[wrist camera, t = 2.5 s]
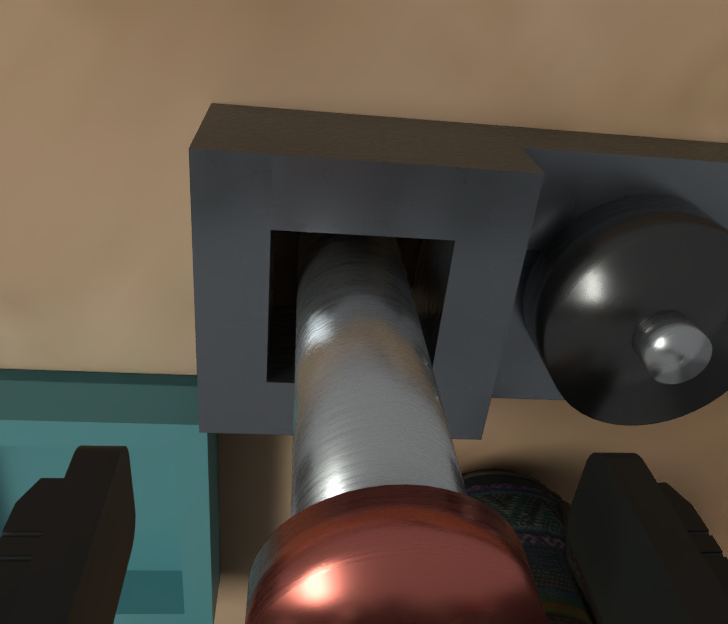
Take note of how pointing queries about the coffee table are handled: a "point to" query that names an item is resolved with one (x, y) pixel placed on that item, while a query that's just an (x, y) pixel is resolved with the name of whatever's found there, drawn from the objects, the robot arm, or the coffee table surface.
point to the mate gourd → (539, 540)
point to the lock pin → (378, 468)
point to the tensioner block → (470, 259)
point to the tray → (148, 469)
